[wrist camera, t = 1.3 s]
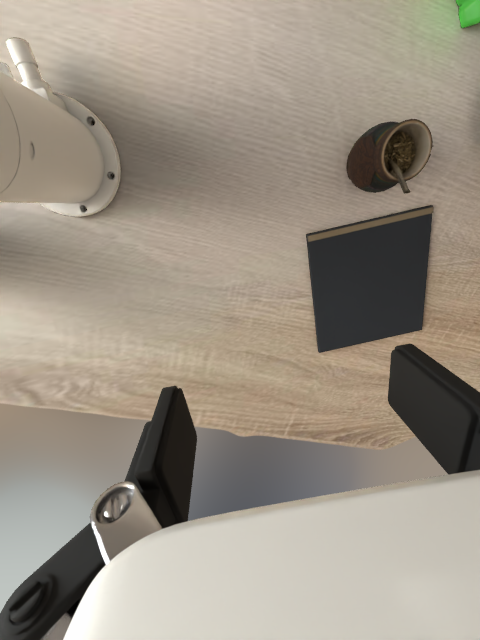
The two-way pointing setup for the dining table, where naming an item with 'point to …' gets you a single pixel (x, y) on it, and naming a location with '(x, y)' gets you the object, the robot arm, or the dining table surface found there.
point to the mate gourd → (389, 155)
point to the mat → (369, 278)
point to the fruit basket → (469, 12)
